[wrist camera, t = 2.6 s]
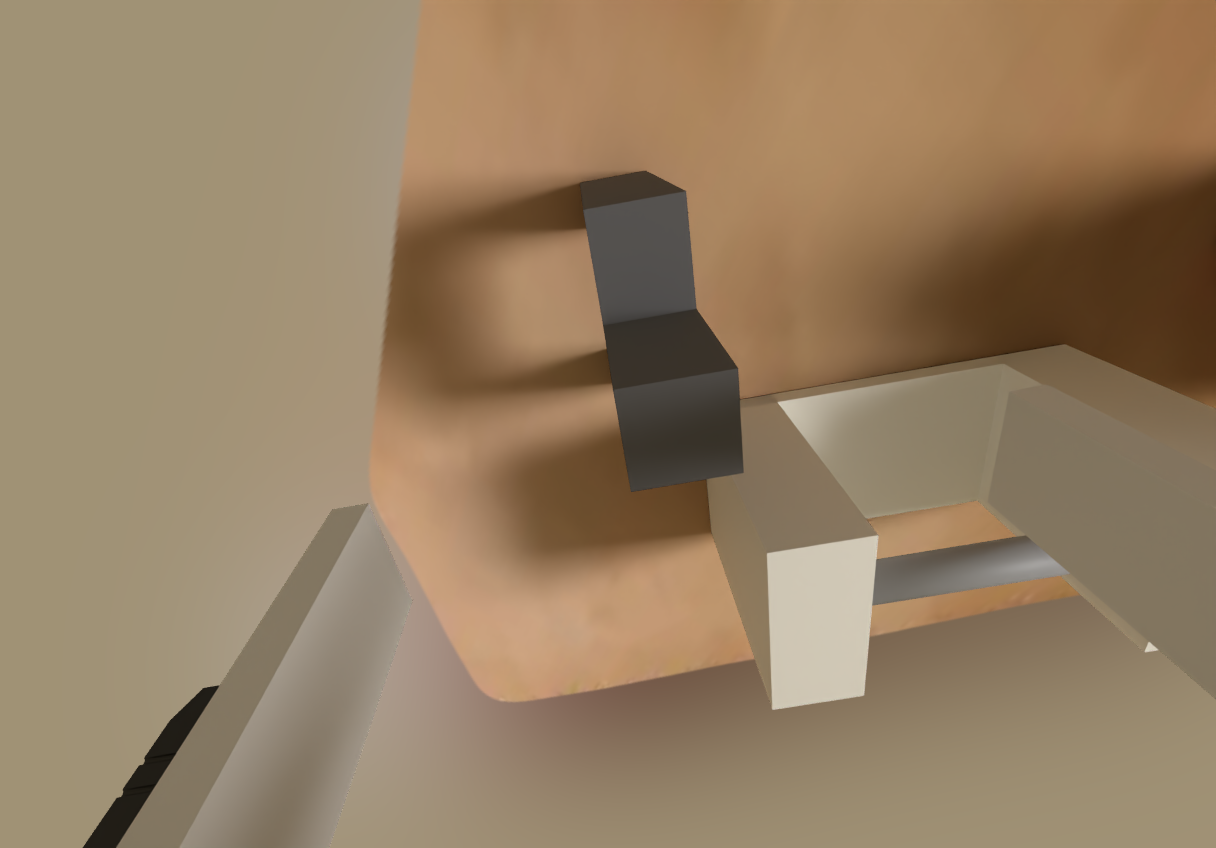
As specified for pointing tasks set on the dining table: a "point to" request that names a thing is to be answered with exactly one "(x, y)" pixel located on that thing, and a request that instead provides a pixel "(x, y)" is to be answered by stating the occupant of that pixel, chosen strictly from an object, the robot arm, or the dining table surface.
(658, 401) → the grey zigzag block
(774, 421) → the cream rod holder
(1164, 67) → the dining table surface
